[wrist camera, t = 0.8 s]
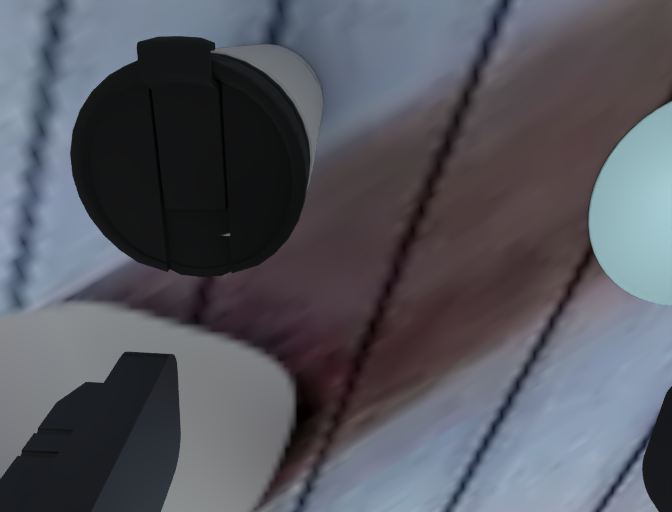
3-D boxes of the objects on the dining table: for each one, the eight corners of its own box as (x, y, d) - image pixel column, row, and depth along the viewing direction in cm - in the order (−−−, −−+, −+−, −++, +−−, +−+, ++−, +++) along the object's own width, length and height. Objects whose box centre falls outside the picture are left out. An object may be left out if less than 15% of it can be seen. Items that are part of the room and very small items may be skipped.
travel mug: (324, 38, 32) (308, 39, 13) (322, 155, 34) (307, 298, 15) (213, 35, 31) (35, 32, 13) (219, 153, 34) (77, 294, 15)
